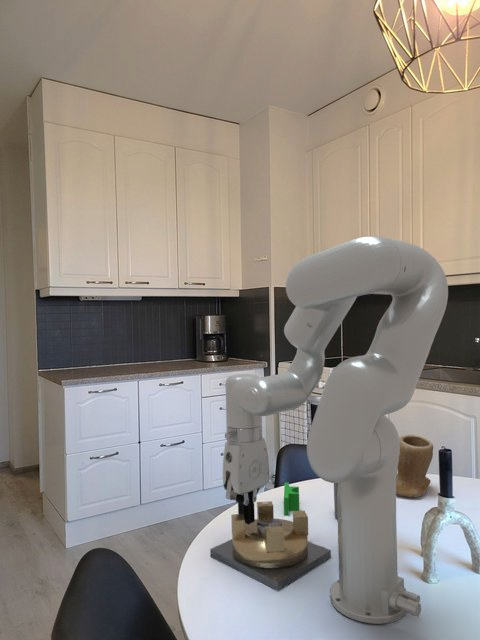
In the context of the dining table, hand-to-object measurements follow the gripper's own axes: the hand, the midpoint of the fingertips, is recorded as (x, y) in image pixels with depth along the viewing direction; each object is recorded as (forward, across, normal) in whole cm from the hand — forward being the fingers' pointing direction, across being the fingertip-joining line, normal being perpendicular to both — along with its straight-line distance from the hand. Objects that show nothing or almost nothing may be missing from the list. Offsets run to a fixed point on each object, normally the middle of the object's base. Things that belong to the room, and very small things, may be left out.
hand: (246, 521), depth 99 cm
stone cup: (+6, +54, -12) cm, 56 cm away
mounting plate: (+6, 0, -6) cm, 8 cm away
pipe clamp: (+6, +23, +6) cm, 25 cm away
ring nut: (+4, 0, -6) cm, 7 cm away
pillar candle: (+6, +28, -9) cm, 30 cm away
